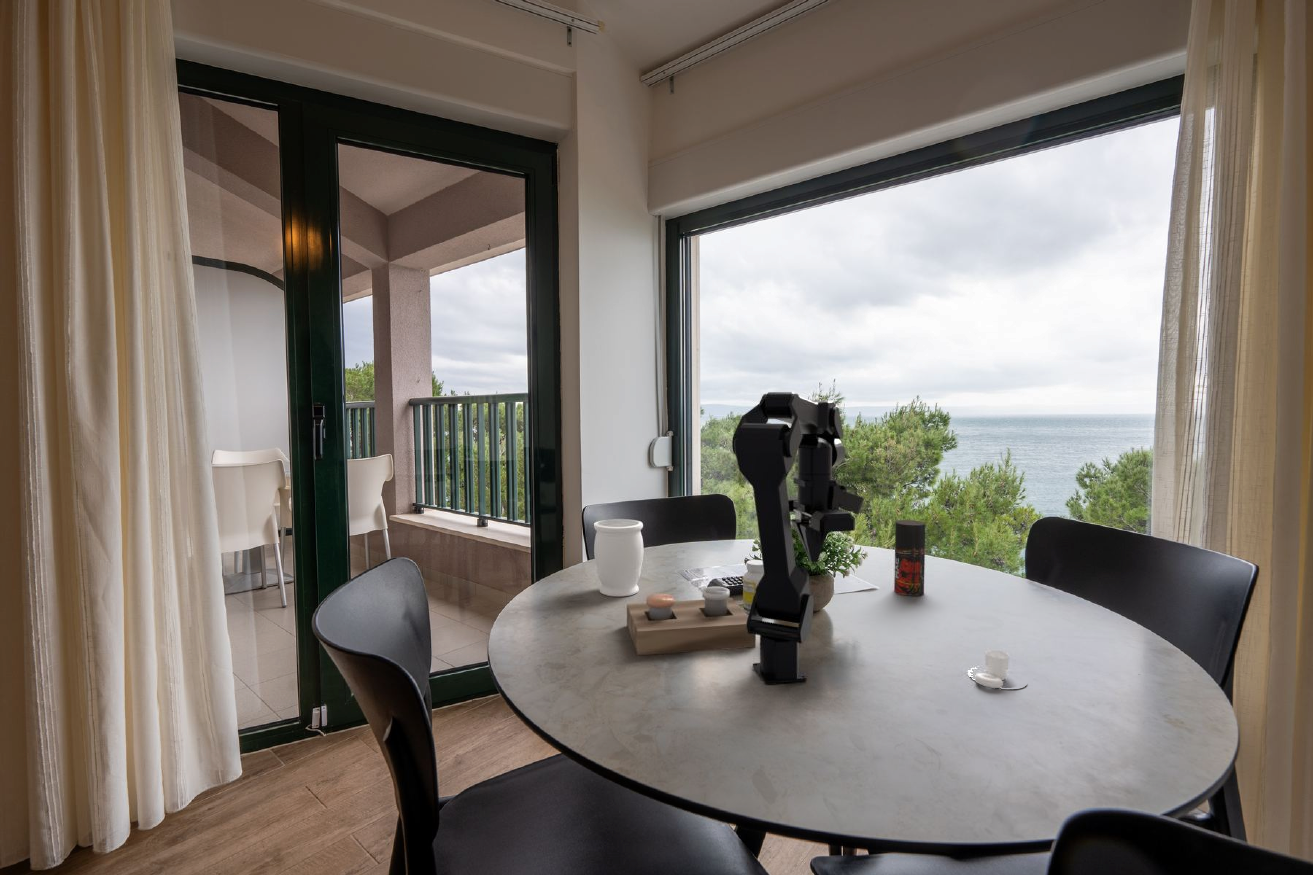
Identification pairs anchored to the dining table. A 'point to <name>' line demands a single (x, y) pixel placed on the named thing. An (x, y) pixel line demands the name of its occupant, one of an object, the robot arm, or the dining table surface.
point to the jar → (618, 555)
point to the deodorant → (909, 557)
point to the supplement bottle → (751, 582)
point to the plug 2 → (715, 600)
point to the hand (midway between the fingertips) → (813, 561)
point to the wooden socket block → (688, 629)
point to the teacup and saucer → (993, 669)
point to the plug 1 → (660, 606)
